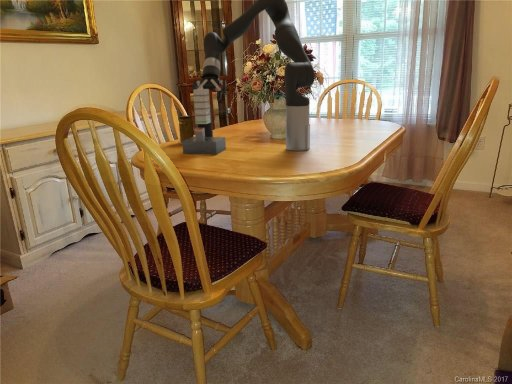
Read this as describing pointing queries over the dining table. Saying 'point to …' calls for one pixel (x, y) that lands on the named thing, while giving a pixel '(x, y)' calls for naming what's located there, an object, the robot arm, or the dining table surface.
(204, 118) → the column
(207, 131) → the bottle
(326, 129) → the dining table surface
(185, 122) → the condiment
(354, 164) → the dining table surface
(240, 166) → the dining table surface
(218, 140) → the stand base
